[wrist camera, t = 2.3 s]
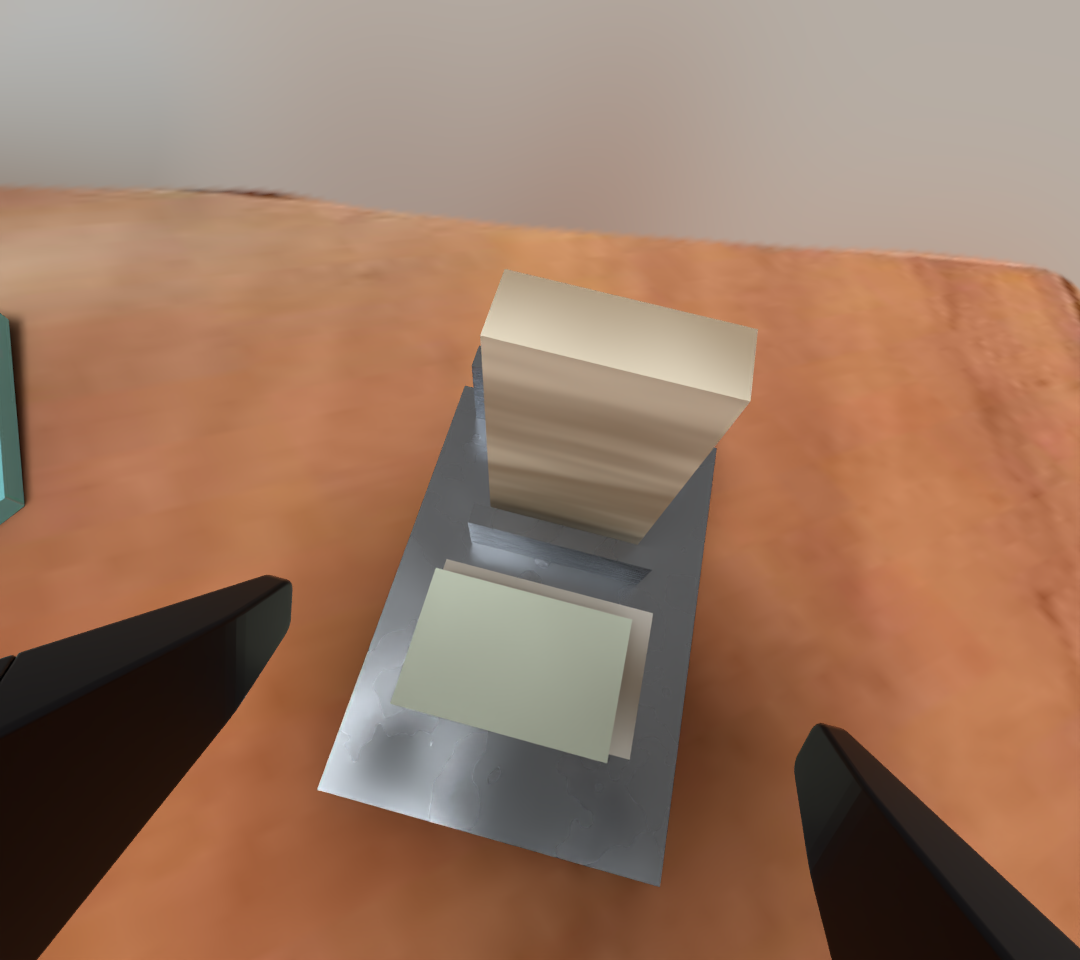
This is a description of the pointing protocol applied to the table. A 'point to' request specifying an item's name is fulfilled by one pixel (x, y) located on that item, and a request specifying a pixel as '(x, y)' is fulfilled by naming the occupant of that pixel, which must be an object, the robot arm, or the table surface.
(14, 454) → the plaque
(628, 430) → the birch block
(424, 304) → the table surface
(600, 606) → the offcut lower
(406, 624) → the offcut rack
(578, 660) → the offcut upper
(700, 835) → the table surface
